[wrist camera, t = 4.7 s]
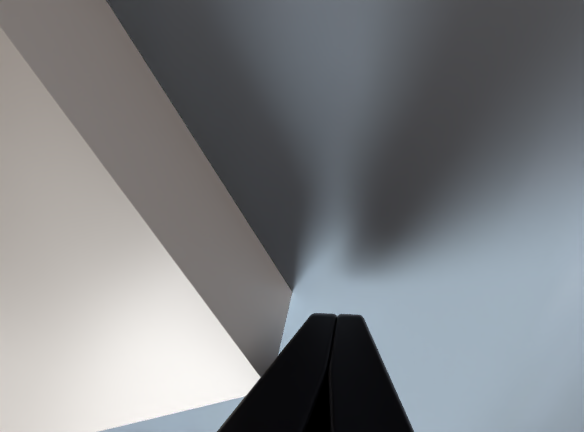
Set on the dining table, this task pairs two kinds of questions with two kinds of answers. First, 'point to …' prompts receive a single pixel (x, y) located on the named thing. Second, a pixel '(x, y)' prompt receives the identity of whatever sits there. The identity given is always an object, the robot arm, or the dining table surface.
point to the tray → (115, 238)
